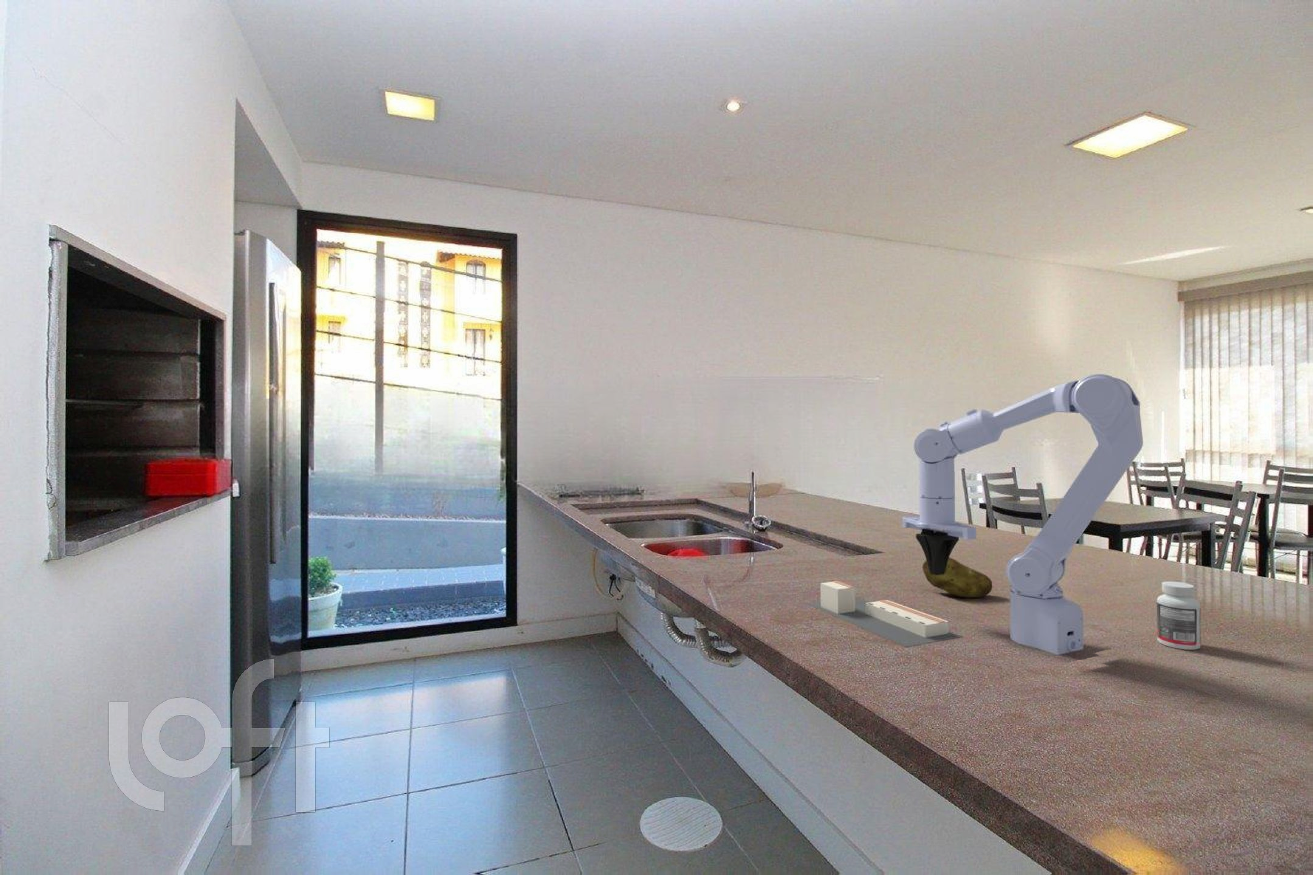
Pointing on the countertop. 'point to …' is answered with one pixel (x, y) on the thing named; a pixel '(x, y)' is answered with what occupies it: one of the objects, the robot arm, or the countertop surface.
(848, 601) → the stub
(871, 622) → the mat
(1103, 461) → the robot arm
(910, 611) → the cream striped bar
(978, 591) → the potato
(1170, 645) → the pill bottle
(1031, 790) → the countertop surface
